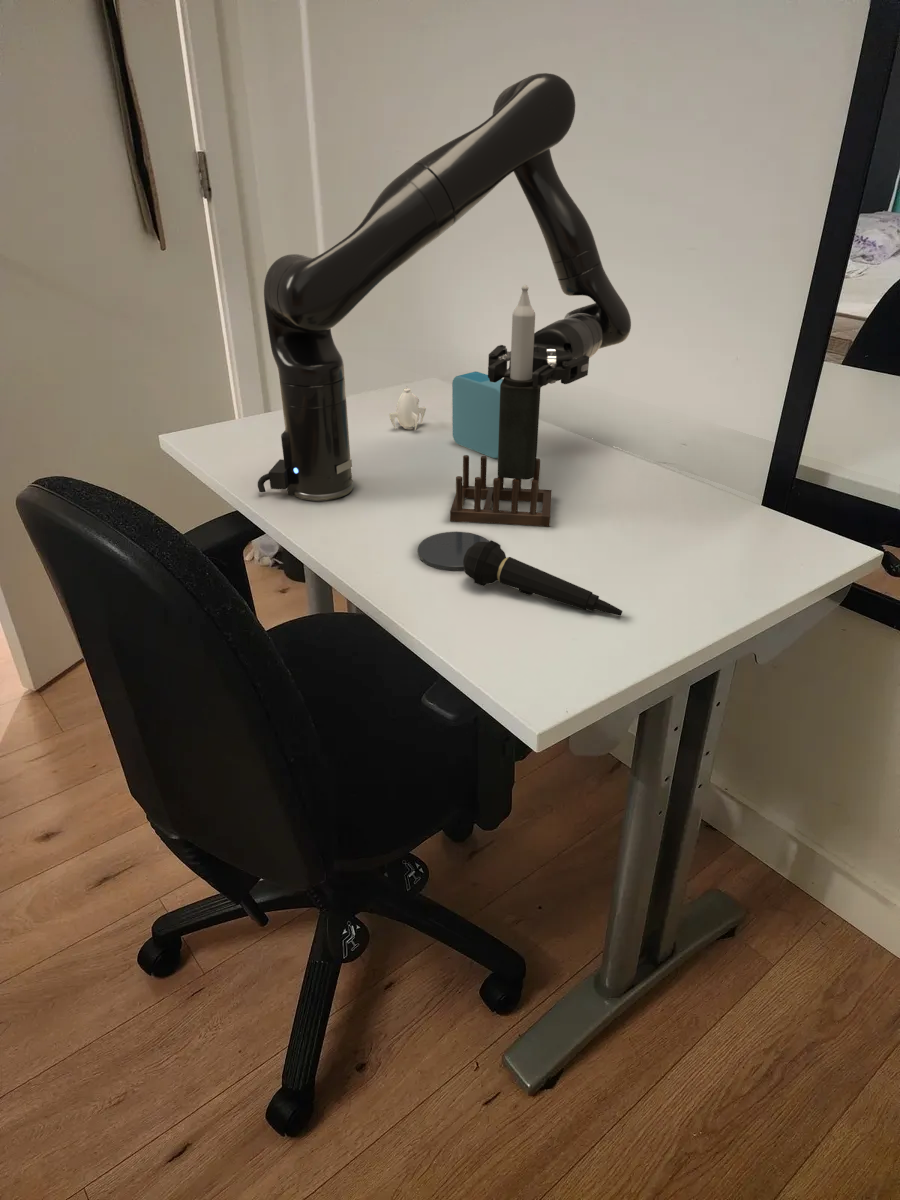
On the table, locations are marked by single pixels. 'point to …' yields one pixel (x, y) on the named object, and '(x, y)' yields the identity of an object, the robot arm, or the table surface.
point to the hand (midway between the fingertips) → (513, 377)
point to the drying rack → (498, 494)
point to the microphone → (527, 578)
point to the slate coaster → (447, 549)
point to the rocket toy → (407, 410)
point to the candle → (519, 399)
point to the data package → (476, 412)
